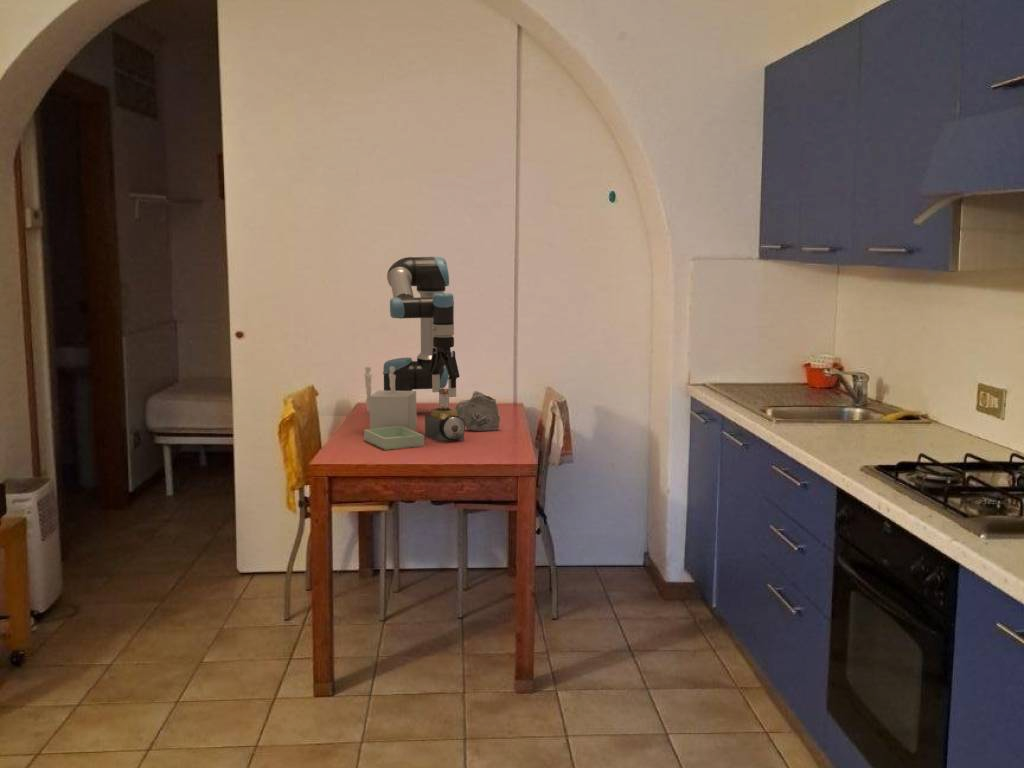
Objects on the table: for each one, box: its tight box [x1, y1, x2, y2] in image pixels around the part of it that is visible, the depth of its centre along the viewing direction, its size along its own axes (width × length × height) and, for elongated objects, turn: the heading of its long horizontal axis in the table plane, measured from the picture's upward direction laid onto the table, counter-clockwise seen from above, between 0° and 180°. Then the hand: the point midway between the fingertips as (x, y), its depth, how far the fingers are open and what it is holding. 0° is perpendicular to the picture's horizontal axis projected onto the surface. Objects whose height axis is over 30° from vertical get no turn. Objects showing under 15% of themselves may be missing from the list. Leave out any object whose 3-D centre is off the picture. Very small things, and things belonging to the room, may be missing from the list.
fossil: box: [454, 390, 501, 432], centre depth 382 cm, size 17×7×15 cm, turn 93°
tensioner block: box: [424, 407, 466, 443], centre depth 367 cm, size 15×10×10 cm, turn 29°
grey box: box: [363, 365, 418, 431], centre depth 379 cm, size 15×18×25 cm
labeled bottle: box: [438, 388, 450, 411], centre depth 367 cm, size 4×4×10 cm
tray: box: [363, 426, 425, 451], centre depth 359 cm, size 20×15×4 cm
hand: (444, 394), depth 366 cm, fingers open, 13 cm apart
